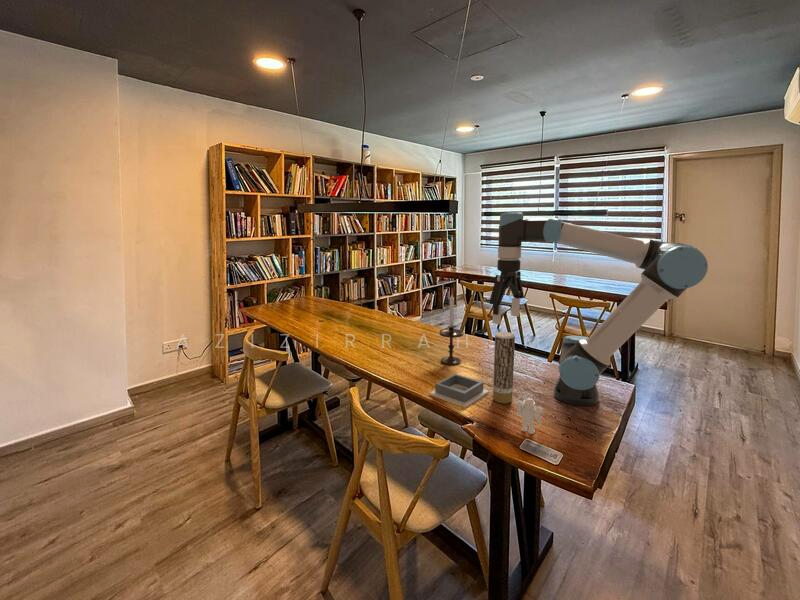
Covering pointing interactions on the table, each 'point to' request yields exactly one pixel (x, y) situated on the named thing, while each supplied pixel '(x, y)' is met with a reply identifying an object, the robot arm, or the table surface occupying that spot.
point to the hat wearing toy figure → (528, 413)
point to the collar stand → (459, 390)
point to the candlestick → (451, 336)
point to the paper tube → (503, 367)
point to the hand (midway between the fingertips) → (506, 319)
